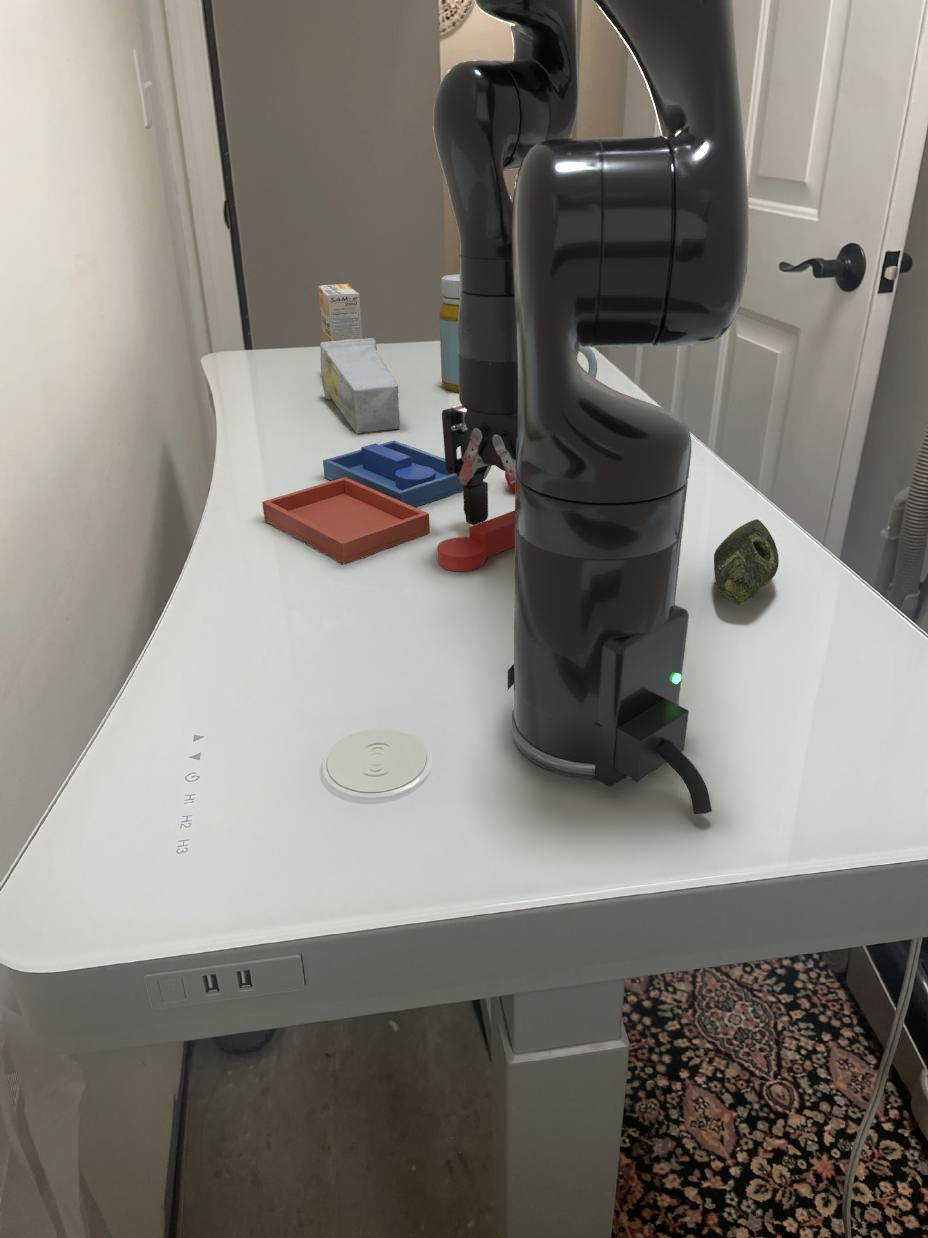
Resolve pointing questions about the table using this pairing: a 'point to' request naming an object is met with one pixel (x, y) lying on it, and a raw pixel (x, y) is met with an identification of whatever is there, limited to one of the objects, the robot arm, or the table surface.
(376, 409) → the block
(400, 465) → the blue spoon
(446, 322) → the bottle
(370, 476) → the blue tray
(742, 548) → the decorative stone
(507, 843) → the table surface
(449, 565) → the red spoon
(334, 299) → the supplement box
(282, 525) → the red tray
